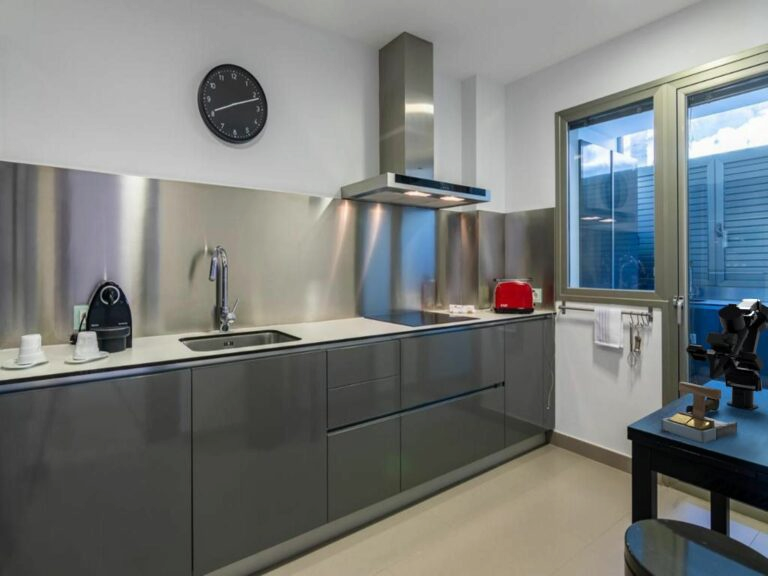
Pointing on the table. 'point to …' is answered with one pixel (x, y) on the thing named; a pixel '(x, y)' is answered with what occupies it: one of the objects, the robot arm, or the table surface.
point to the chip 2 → (698, 425)
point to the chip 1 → (680, 419)
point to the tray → (688, 431)
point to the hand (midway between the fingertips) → (711, 378)
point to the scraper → (699, 400)
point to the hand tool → (707, 405)
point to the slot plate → (722, 427)
